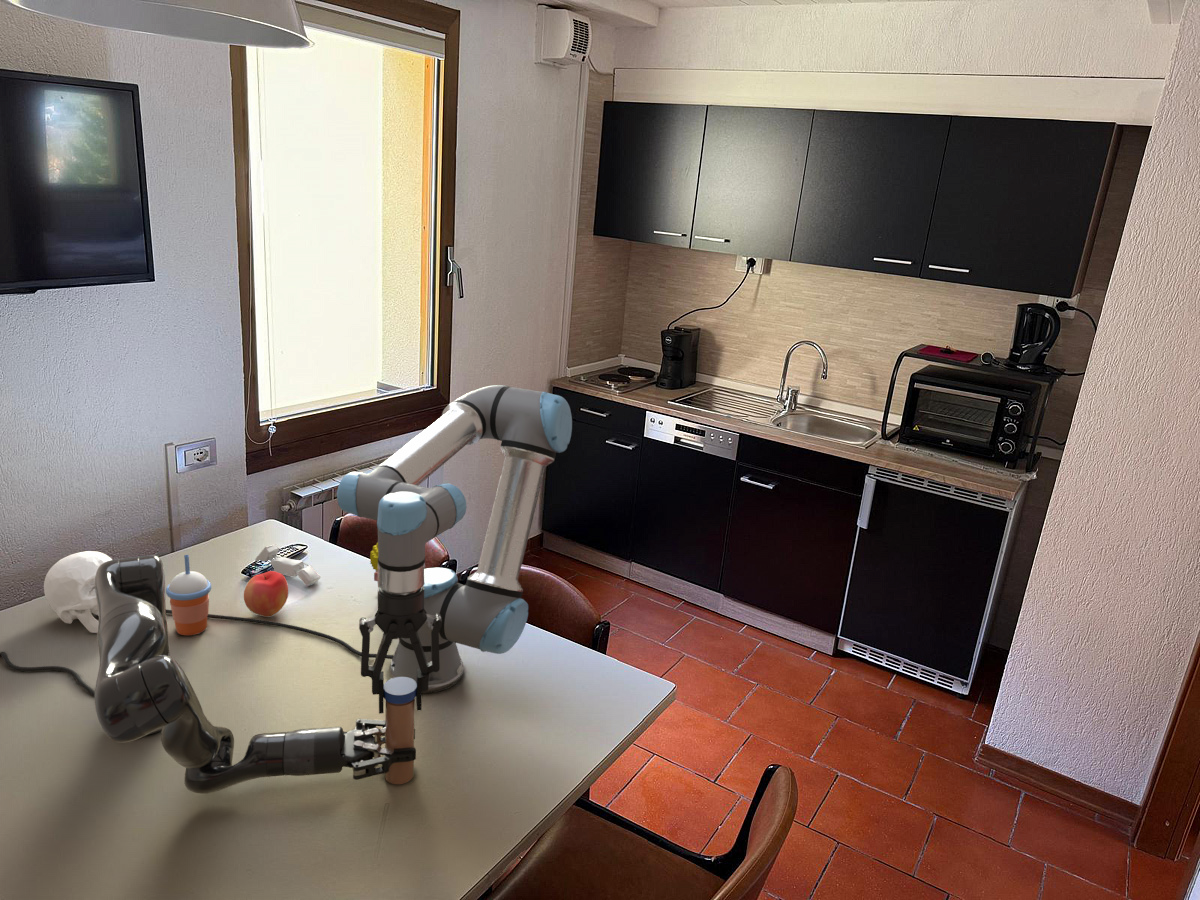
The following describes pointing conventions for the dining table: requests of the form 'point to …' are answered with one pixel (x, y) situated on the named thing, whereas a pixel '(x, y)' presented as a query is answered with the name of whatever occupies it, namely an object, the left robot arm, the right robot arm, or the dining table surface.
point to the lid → (400, 690)
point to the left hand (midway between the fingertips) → (414, 743)
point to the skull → (75, 588)
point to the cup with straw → (189, 600)
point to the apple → (266, 593)
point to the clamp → (288, 565)
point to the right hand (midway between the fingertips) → (400, 707)
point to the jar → (399, 738)
